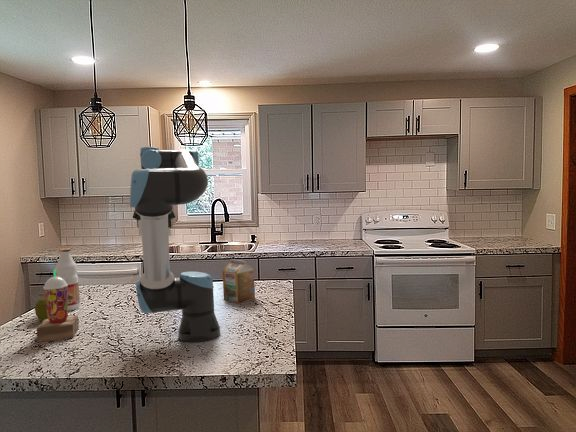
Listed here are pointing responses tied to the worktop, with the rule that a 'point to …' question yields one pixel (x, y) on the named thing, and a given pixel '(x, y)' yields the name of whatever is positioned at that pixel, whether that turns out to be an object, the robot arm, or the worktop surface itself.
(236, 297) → the milk carton
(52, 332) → the brown flat block
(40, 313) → the apple
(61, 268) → the fruit juice
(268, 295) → the worktop surface
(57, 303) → the smoothie
